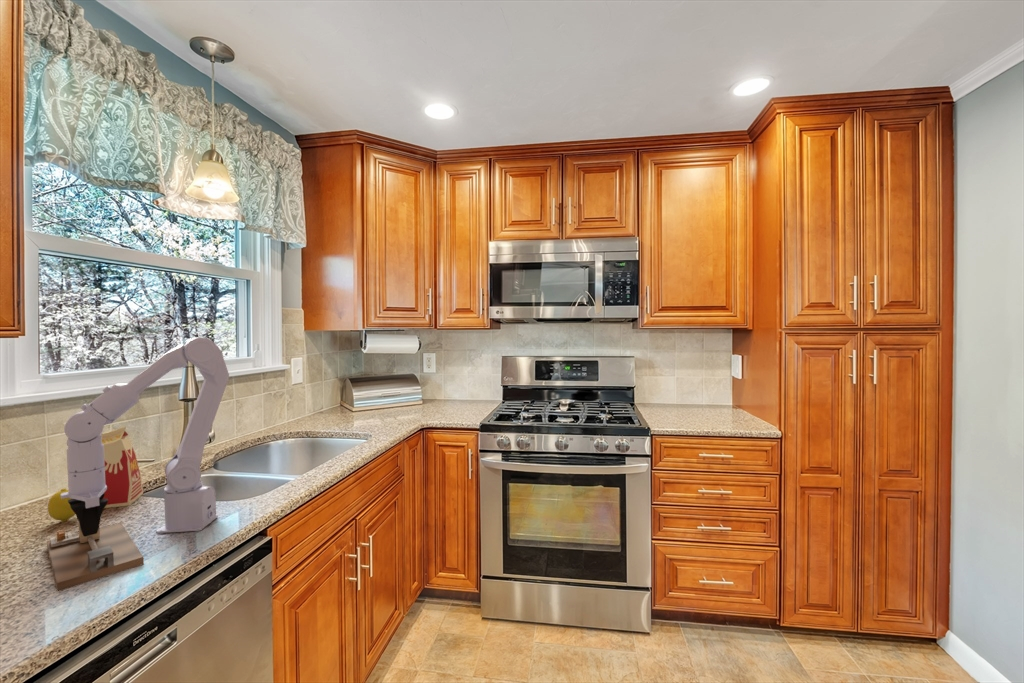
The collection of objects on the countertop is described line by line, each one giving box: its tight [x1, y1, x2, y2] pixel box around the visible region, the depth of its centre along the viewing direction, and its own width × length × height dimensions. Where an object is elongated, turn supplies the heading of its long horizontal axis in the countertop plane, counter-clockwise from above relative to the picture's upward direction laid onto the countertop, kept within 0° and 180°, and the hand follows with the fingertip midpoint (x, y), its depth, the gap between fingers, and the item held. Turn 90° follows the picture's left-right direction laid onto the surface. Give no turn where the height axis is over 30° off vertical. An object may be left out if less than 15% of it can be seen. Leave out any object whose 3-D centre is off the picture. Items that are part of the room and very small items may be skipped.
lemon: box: [47, 488, 76, 523], centre depth 110 cm, size 6×6×8 cm
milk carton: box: [102, 425, 144, 509], centre depth 122 cm, size 9×9×20 cm
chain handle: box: [49, 519, 101, 550], centre depth 92 cm, size 18×7×5 cm, turn 48°
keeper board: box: [46, 522, 145, 592], centre depth 93 cm, size 24×12×4 cm, turn 48°
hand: (89, 532), depth 97 cm, fingers closed on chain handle, 2 cm apart
